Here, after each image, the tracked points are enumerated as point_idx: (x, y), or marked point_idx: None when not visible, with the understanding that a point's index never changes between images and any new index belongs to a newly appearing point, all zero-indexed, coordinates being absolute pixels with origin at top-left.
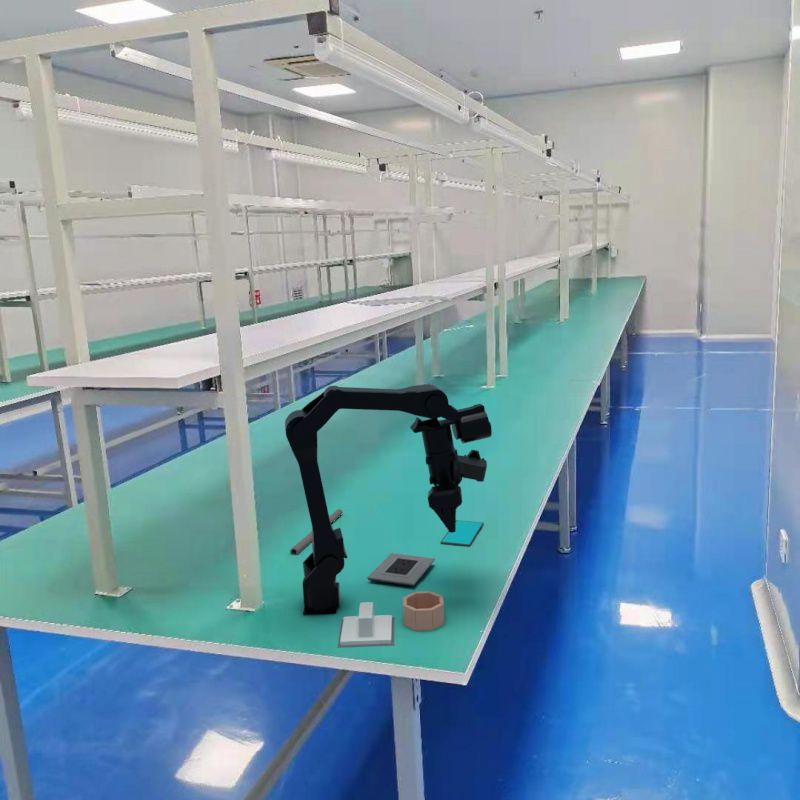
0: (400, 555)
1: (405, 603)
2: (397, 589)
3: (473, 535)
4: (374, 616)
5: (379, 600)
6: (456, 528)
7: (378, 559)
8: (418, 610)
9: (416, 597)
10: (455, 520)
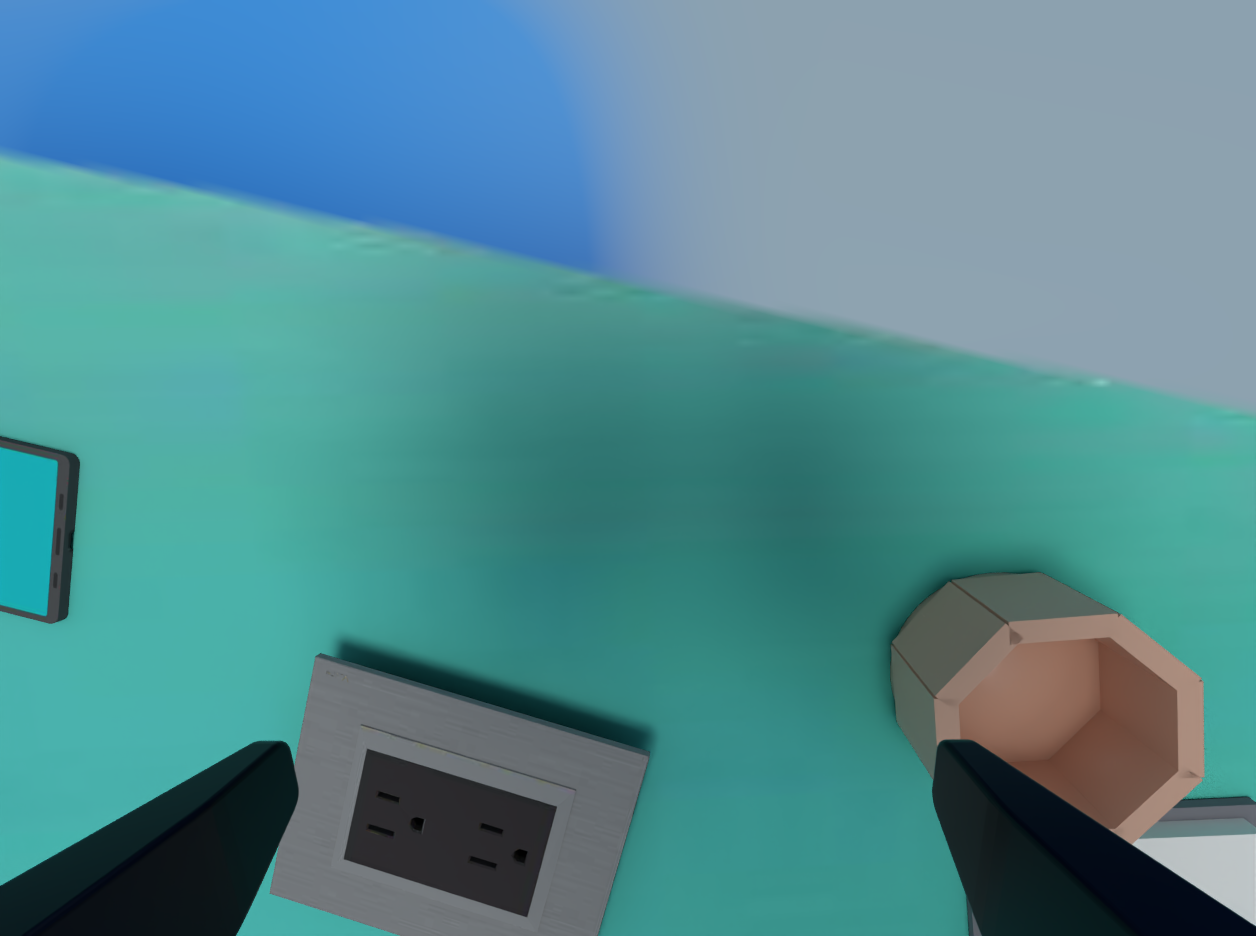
0: (295, 842)
1: None
2: (633, 813)
3: None
4: None
5: (756, 890)
6: None
7: (296, 922)
8: (1200, 759)
9: None
10: (1208, 898)
